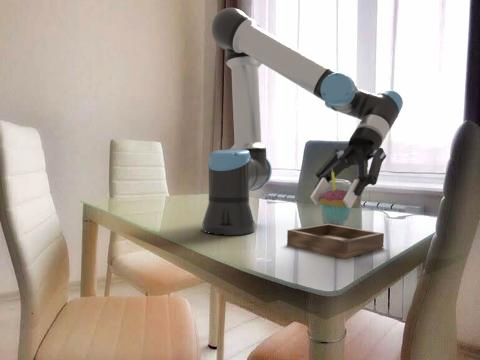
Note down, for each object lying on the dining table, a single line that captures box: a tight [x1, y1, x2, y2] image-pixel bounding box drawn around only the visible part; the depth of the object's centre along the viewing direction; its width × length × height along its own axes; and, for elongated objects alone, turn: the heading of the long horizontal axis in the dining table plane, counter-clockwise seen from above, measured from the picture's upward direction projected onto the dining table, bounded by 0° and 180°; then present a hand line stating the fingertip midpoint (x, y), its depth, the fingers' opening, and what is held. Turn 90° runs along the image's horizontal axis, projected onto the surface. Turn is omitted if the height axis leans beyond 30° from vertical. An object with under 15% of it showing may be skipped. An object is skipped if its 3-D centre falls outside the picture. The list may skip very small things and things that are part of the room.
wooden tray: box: [286, 224, 385, 260], centre depth 85 cm, size 16×16×4 cm
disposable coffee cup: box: [316, 178, 352, 226], centre depth 113 cm, size 11×11×15 cm
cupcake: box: [319, 169, 358, 222], centre depth 84 cm, size 9×8×12 cm
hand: (329, 202), depth 82 cm, fingers closed on cupcake, 8 cm apart
